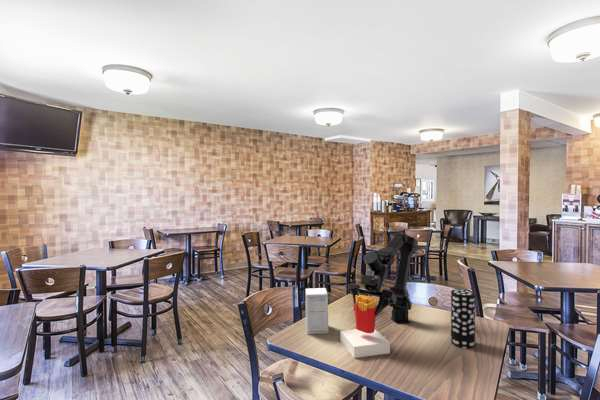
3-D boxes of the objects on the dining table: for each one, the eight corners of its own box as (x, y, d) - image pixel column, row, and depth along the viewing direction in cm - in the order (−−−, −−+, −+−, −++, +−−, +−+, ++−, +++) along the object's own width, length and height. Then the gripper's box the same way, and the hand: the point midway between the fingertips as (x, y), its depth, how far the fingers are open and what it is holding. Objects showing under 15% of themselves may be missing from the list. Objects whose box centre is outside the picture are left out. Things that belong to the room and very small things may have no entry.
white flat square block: (372, 337, 134) (372, 327, 134) (389, 353, 121) (389, 342, 120) (340, 340, 131) (340, 331, 131) (354, 357, 117) (354, 346, 117)
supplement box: (326, 325, 147) (326, 287, 147) (329, 333, 138) (328, 293, 137) (305, 325, 147) (305, 287, 146) (306, 334, 138) (305, 294, 137)
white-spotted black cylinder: (472, 340, 130) (472, 290, 130) (476, 350, 122) (476, 296, 122) (449, 337, 133) (449, 288, 133) (452, 347, 125) (452, 294, 125)
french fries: (352, 328, 127) (352, 295, 127) (358, 324, 130) (358, 292, 130) (373, 335, 121) (373, 300, 120) (379, 331, 124) (379, 297, 123)
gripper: (349, 263, 135) (335, 297, 126) (393, 269, 123) (381, 307, 115) (358, 278, 141) (346, 311, 133) (401, 285, 129) (390, 322, 121)
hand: (364, 312), depth 125 cm, fingers closed on french fries, 8 cm apart
